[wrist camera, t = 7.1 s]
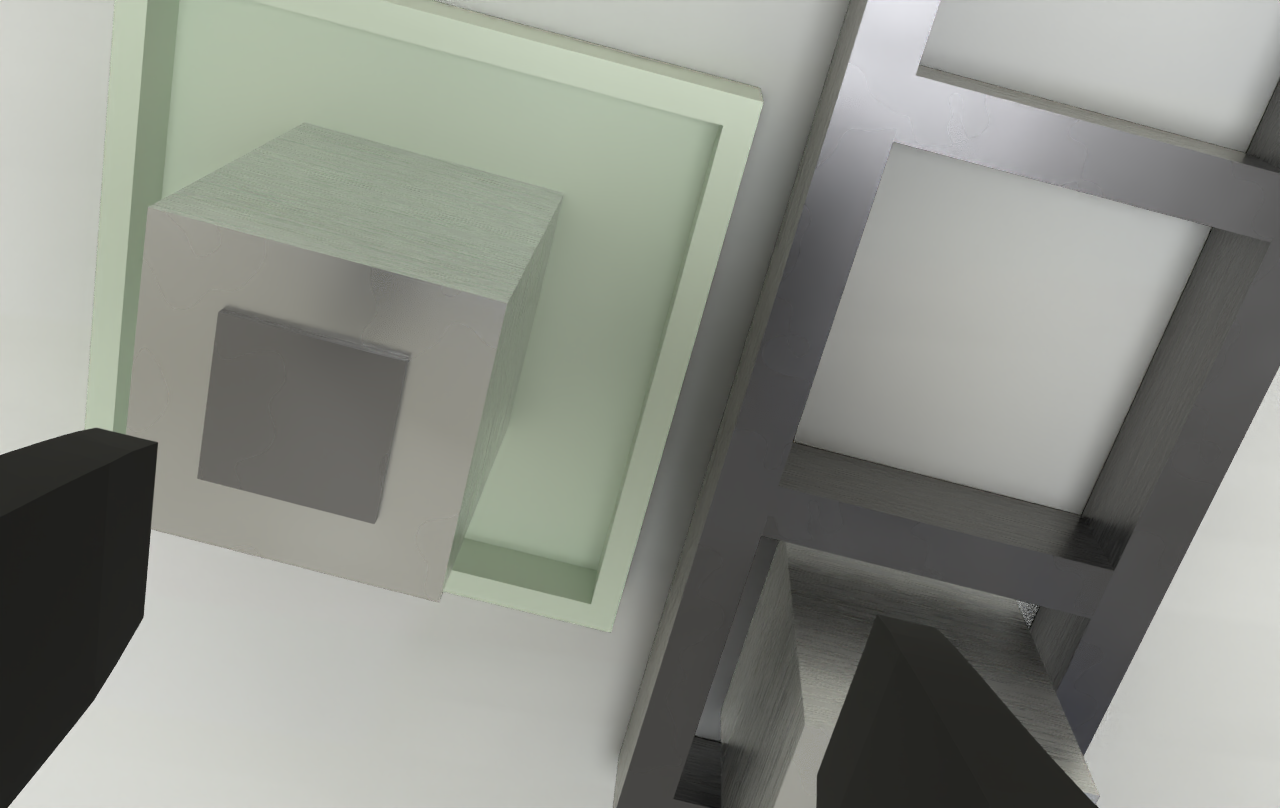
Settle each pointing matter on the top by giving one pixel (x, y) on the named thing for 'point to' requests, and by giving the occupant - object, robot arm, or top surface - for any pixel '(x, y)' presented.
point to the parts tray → (488, 141)
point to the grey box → (335, 352)
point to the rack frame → (939, 510)
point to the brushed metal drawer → (829, 655)
